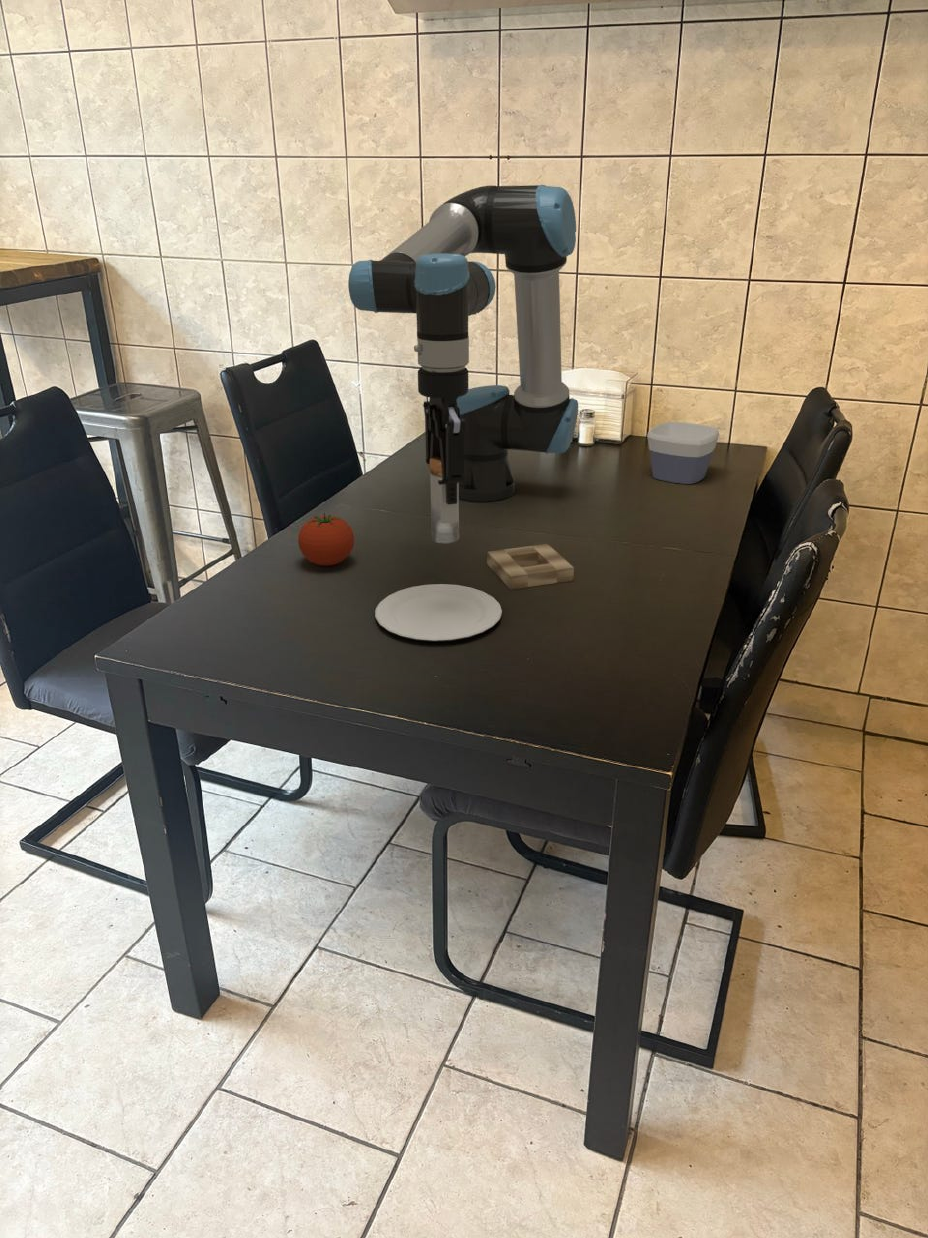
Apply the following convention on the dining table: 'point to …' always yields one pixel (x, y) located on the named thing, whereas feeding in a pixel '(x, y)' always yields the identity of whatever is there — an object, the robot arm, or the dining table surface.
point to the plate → (438, 612)
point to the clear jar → (439, 507)
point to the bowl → (681, 451)
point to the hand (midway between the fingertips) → (444, 516)
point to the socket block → (543, 572)
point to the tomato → (326, 540)
